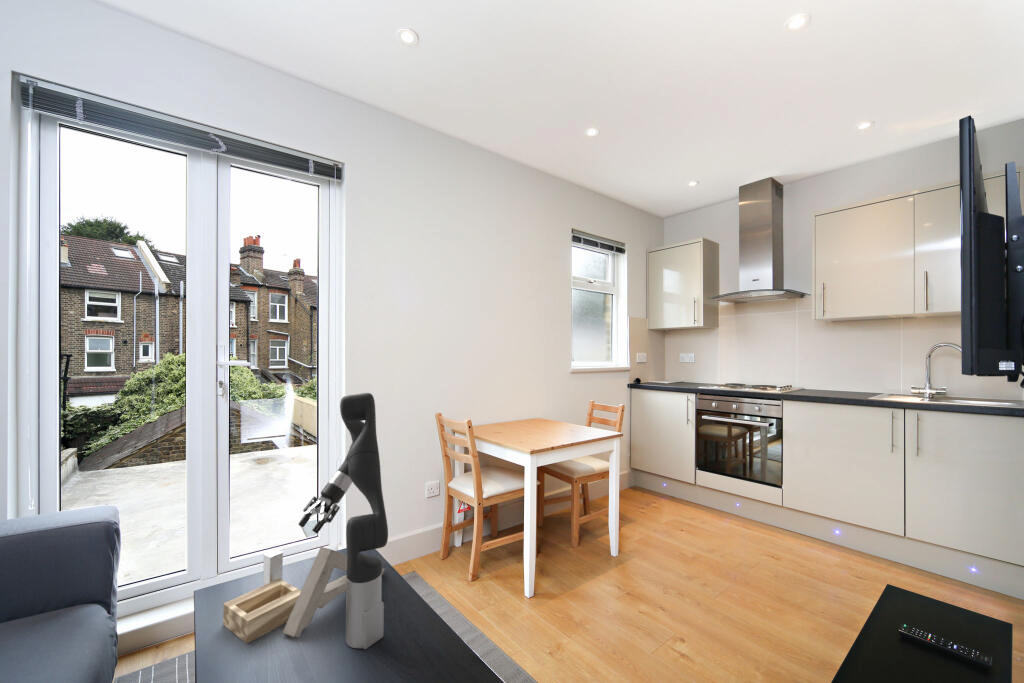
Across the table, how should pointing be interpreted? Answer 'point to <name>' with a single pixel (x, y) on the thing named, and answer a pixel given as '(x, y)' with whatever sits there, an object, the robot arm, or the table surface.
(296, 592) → the beech well block
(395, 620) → the table surface
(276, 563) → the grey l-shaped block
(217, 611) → the table surface
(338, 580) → the grey letter a
